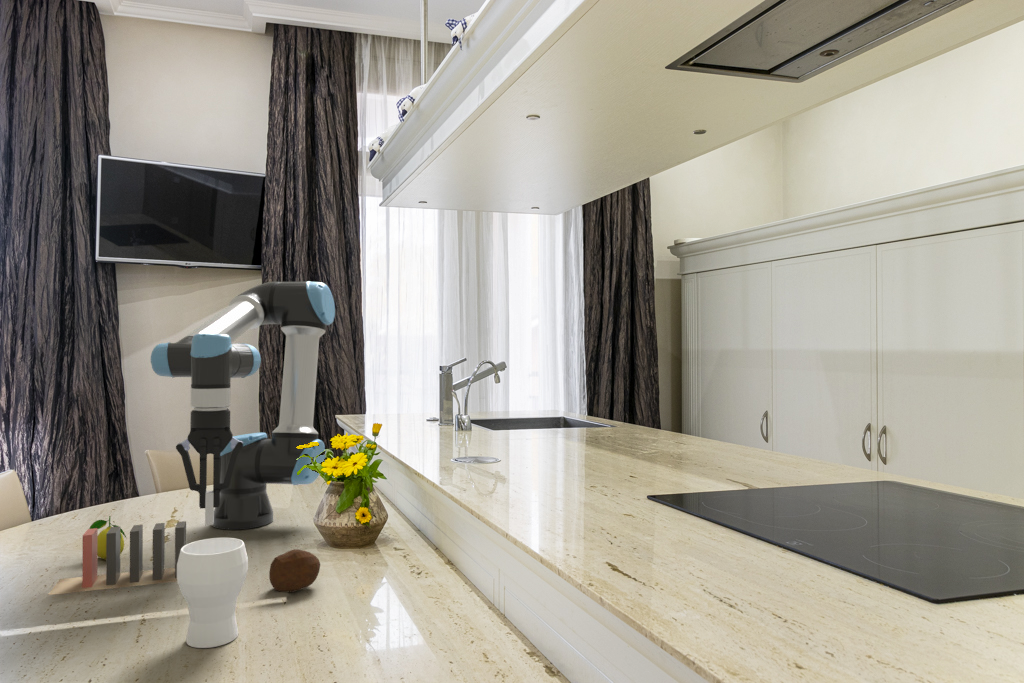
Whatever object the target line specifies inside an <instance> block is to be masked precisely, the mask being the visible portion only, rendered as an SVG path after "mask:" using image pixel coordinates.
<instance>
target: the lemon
mask: <svg viewBox="0 0 1024 683" xmlns="http://www.w3.org/2000/svg"><path fill="white" fill-rule="evenodd" d="M111 517H112V516H111V515H110V516H109V517H108V520H104V519H98V520H95V521H94V522H93V523H91V525H90V527H89V528H88V529H94V528H98V530H100V529H102V528H104V527H105V526H106V525H107V523H108V526H107V527H106V528H104V529H102V530H101V531H100V532H99V533H98V534H97V558H99V559H102V560H105V561H106V534H107V532H108V531H109V530H110V528H111V527H119V525H116V524H115V525H114V524H112V523H111ZM124 538H127V535H126V534H125V531H124V530H123V529H122V527H120V555H121V554H122V553H123V551H124V549H125V540H124Z"/></svg>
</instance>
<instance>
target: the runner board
mask: <svg viewBox="0 0 1024 683" xmlns="http://www.w3.org/2000/svg"><path fill="white" fill-rule="evenodd" d="M175 582H178V581H177V578H175V567H170V568H169V567H167V568H164V574H163V577H162V580H153V569H149V570H148V569H147V570H143V574H142V576H141V578H140V581H139V582H134V583H130V571H129V572H128V571H127V572H120V577H119V579H118V581H117V583H116V584H115V585H106V574H99V575H98V574H97V580H96V581H95V583H94V585H93V586H92V587H86V588H82V576H79V577H78V576H76V577H69V578H59V580H58V582H56V583H55V585H54V586H53V588H52V589H51V590H50V592H48V594H47V596H53V595H54V596H55V595H60V594H61V595H64V594H70V593H80V592H90V591H100V590H107V589H119V588H127V587H138V586H146V585H157V584H167V583H175Z"/></svg>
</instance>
